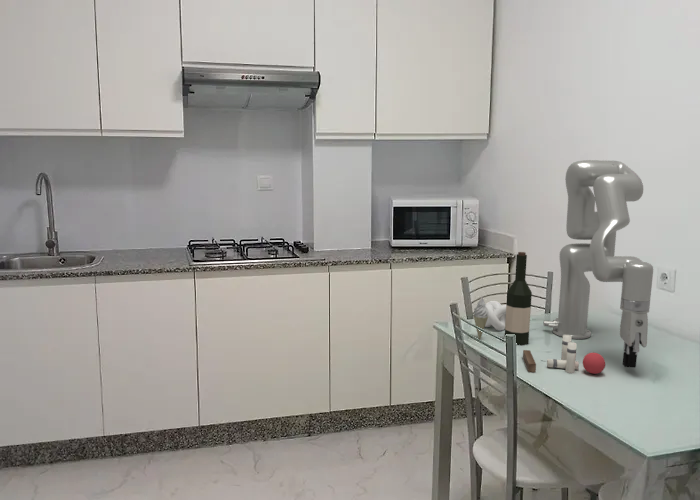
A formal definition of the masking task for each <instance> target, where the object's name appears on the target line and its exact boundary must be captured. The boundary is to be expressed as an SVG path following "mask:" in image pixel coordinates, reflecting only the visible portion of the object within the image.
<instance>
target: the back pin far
mask: <svg viewBox="0 0 700 500" xmlns="http://www.w3.org/2000/svg"><path fill="white" fill-rule="evenodd" d="M571 337H572V336H570V335H563V337H562V342H561V357H560V358H561V359H560V360H567V347H568V342H572V338H571Z"/></svg>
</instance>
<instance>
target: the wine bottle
mask: <svg viewBox="0 0 700 500" xmlns="http://www.w3.org/2000/svg"><path fill="white" fill-rule="evenodd" d="M527 259H528V255H527V253H526V252H525V251H518V253H517V254H516V258H515V260H516V261H515V276H514V277H515V278H514V280H513V282H512V283H511V285H509V286H510V287H509V288H508V289H507V292H506V304H505V305H506V320H505V328H504V336H505V335H506V334H515V335H516V343H517V345H516V346H525V345H529V342H530V341H529V340H530V325H531V324H530V323H531V312H532V310H531V309H532V294H533V293H532V290H531V287H530V286H529V284H528V283H527V281H526V277H527V276H526V273H527Z"/></svg>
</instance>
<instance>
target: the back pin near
mask: <svg viewBox="0 0 700 500" xmlns="http://www.w3.org/2000/svg"><path fill="white" fill-rule="evenodd" d="M576 357H577V343H576V342H573V341H571V342H568V347H567V360H566V369H565V373H567V374H575V371H576V370H575V361H577V360H576Z"/></svg>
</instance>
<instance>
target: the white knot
mask: <svg viewBox="0 0 700 500" xmlns="http://www.w3.org/2000/svg"><path fill="white" fill-rule="evenodd" d="M485 304H486V305H485V306H486V308H487V309H488V312H489V313H488V316H489V317H488V319H487V322H486V325H485V327H484V328H490V327H493V328H494V329H495V330H496V331H500V332H501V331H503V330H505V320H506V304H501V303H500V302H499V301H497V300H490V301H488V302H486V303H485Z"/></svg>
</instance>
